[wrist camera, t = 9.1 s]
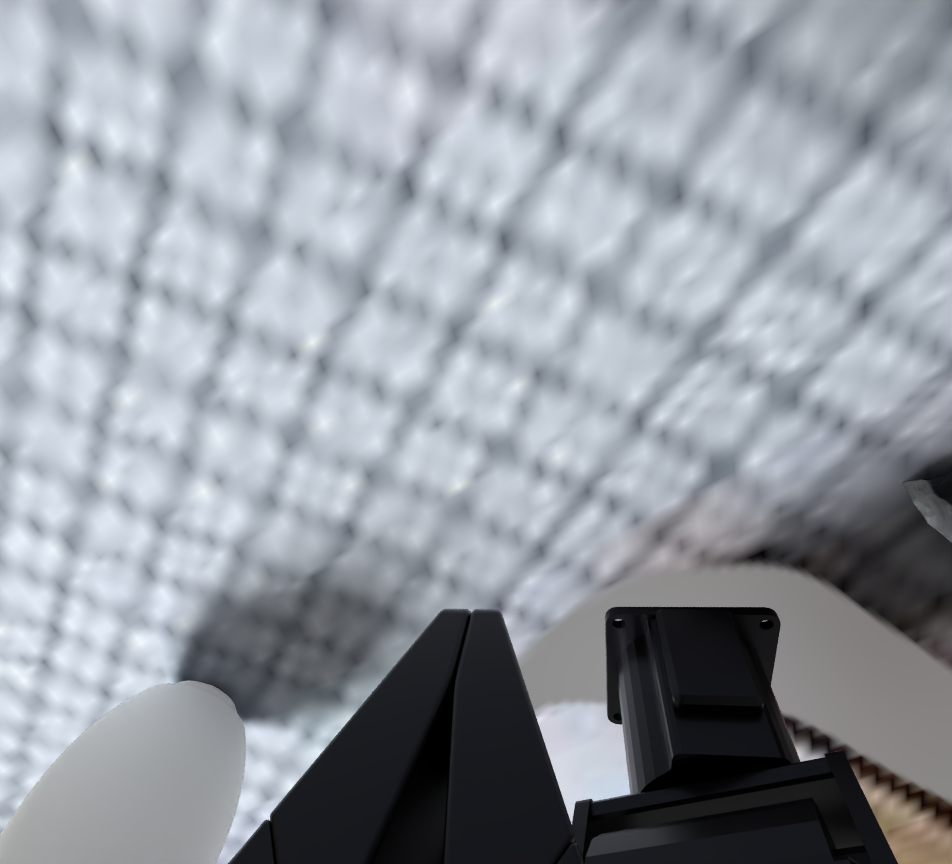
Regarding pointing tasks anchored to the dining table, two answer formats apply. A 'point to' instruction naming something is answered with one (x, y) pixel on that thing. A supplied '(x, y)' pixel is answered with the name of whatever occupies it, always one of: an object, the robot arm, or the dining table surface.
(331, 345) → the dining table surface
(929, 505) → the electronic device
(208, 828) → the sauce bottle
